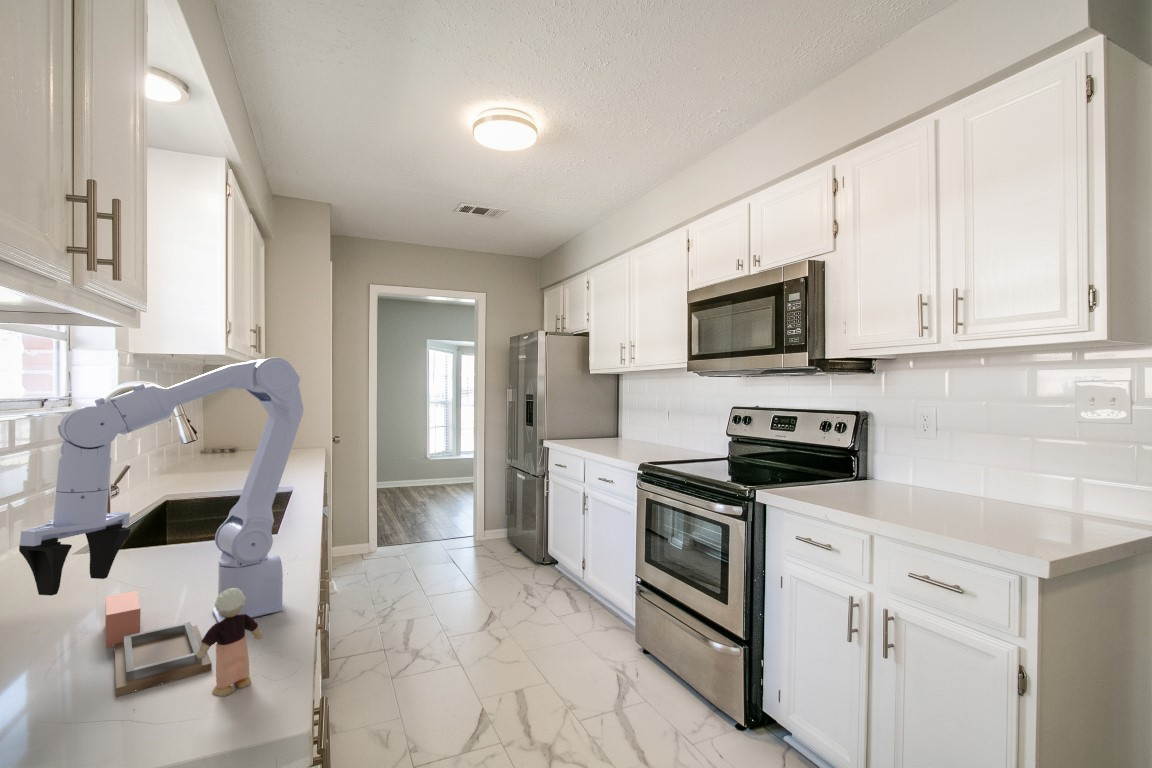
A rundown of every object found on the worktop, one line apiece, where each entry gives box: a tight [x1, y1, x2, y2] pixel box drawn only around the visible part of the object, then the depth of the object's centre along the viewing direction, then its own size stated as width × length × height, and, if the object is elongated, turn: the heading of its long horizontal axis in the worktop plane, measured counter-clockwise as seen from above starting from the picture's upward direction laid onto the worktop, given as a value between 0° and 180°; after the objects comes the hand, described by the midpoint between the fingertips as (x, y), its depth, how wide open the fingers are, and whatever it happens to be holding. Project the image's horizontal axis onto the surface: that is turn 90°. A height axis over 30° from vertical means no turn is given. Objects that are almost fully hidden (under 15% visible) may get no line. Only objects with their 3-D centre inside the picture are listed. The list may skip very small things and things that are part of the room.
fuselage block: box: [104, 590, 141, 649], centre depth 87 cm, size 4×10×5 cm, turn 41°
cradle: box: [114, 621, 213, 697], centre depth 78 cm, size 10×16×2 cm, turn 40°
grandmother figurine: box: [196, 588, 264, 697], centre depth 71 cm, size 8×4×13 cm, turn 159°
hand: (74, 585), depth 79 cm, fingers open, 7 cm apart
